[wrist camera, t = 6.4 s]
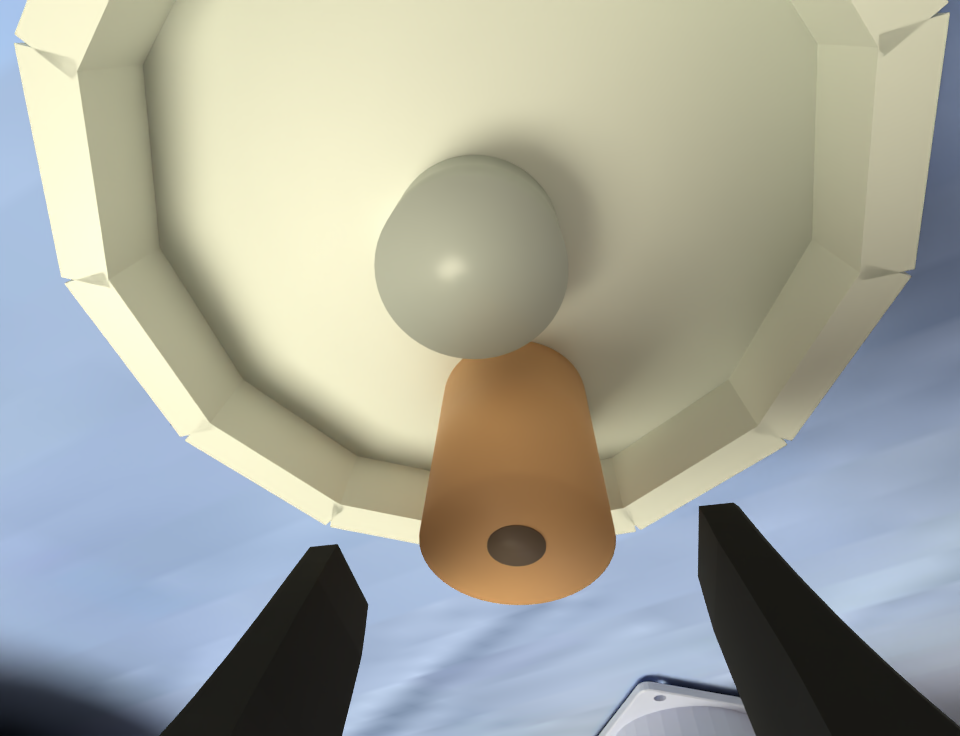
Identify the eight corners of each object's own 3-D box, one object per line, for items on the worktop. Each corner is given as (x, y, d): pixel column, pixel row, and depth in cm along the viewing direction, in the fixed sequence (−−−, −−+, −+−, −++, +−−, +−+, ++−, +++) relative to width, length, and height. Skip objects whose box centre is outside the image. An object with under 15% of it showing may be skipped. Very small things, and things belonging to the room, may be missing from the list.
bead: (606, 359, 14) (648, 498, 10) (559, 466, 16) (577, 620, 12) (460, 325, 14) (439, 455, 10) (432, 439, 16) (404, 588, 12)
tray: (1052, -104, 9) (1216, -142, 7) (659, 527, 18) (680, 594, 16) (52, -443, 8) (-121, -622, 6) (155, 424, 17) (102, 483, 15)
